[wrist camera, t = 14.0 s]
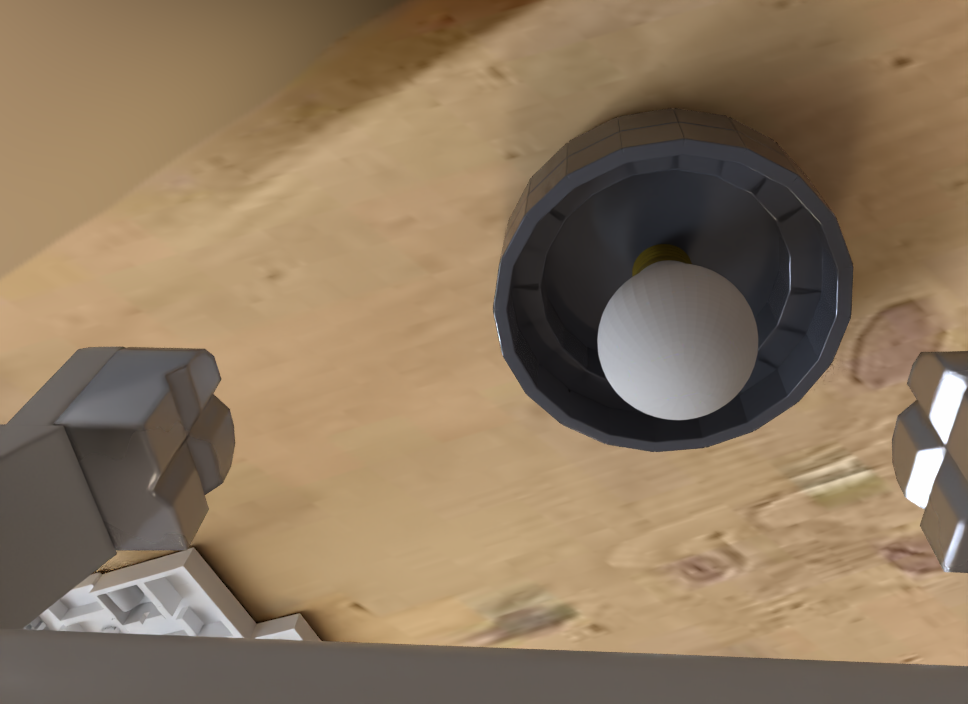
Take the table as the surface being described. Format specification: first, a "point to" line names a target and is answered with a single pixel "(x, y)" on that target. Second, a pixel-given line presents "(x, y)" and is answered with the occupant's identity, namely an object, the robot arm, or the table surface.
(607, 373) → the light bulb
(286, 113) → the table surface
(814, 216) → the bowl
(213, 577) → the floor plan model
